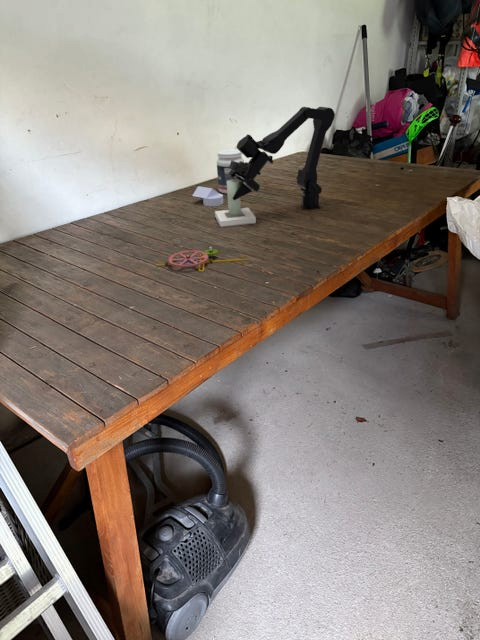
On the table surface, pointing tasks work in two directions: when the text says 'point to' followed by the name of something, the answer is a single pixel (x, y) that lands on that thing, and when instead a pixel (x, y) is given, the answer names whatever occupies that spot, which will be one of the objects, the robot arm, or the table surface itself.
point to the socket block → (235, 218)
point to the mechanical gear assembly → (189, 260)
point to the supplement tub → (226, 167)
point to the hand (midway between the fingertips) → (230, 198)
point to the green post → (233, 205)
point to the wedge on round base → (209, 196)
